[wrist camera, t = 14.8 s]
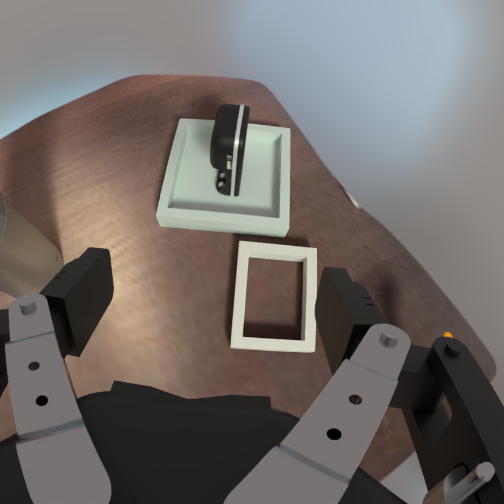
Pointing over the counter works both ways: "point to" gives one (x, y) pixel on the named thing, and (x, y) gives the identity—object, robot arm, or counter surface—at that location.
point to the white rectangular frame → (308, 298)
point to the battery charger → (229, 147)
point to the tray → (205, 178)
